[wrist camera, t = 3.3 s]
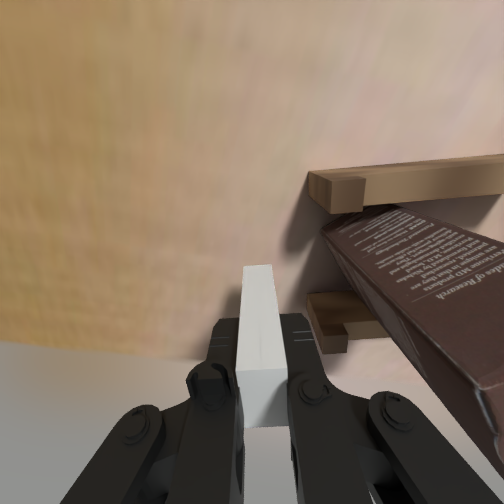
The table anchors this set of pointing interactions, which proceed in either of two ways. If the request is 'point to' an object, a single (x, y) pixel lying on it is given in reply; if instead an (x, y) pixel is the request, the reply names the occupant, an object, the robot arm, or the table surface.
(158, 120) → the table surface
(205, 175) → the table surface
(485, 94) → the table surface
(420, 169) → the brown piece
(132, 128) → the table surface
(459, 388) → the box
